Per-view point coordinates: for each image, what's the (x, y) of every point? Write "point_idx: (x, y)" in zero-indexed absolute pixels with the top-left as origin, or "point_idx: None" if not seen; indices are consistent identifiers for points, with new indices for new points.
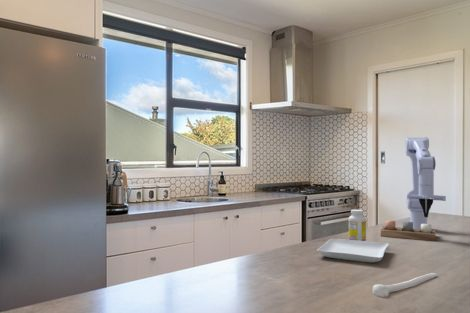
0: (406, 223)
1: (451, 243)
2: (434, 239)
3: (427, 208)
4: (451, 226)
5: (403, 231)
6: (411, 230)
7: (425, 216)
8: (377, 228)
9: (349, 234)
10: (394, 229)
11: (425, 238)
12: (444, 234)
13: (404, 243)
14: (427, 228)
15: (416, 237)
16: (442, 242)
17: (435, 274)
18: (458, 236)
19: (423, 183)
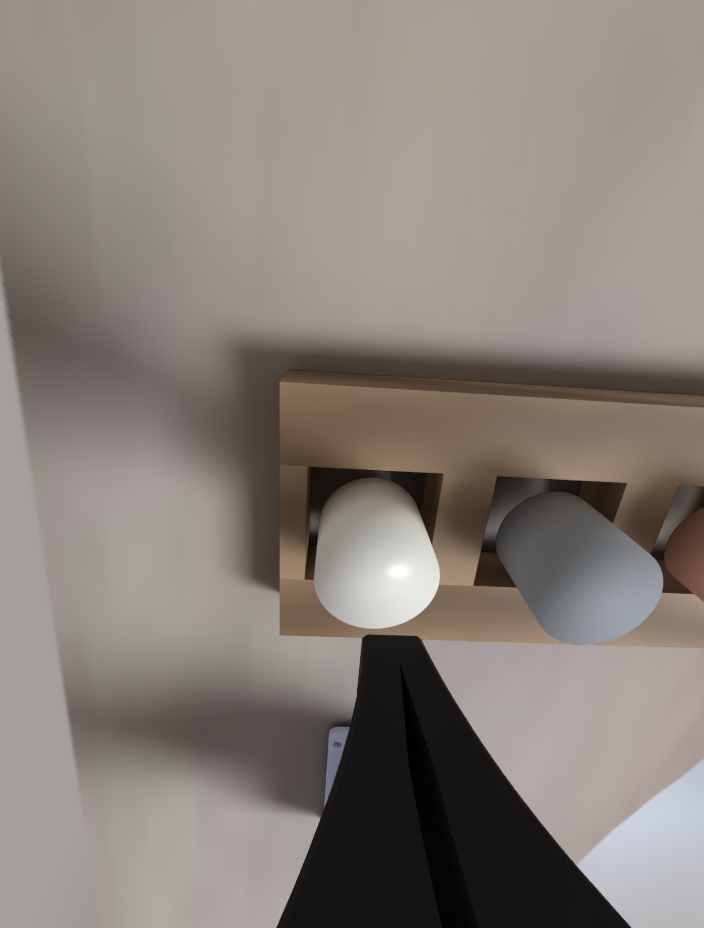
0: (628, 539)
1: (139, 309)
2: (298, 373)
3: (392, 805)
4: (177, 900)
5: (613, 452)
6: (521, 508)
7: (403, 643)
8: (699, 707)
9: None
10: (685, 521)
11: (385, 377)
12: (213, 676)
13: (656, 59)
14: (362, 506)
15: (473, 384)
16: (225, 326)
17: None
18: (108, 644)
19: None
